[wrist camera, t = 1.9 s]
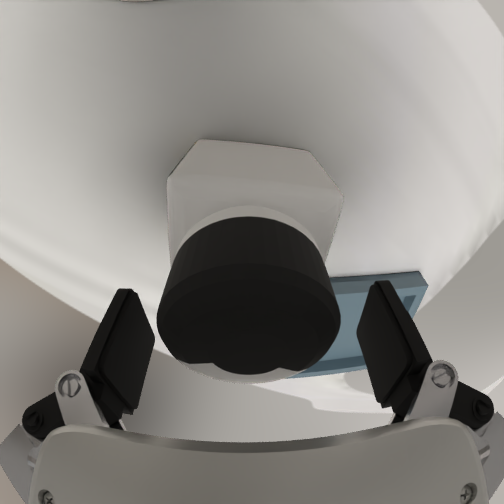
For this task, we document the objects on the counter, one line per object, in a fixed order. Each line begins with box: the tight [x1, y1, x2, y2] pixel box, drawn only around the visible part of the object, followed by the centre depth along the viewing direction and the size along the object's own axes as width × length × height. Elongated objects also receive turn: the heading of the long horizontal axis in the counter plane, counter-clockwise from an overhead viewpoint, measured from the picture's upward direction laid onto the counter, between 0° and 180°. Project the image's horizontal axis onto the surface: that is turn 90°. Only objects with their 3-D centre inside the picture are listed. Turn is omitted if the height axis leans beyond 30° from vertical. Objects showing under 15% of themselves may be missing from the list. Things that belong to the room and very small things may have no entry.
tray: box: [284, 271, 428, 379], centre depth 25 cm, size 13×13×2 cm
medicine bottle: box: [157, 139, 344, 384], centre depth 13 cm, size 7×7×12 cm
